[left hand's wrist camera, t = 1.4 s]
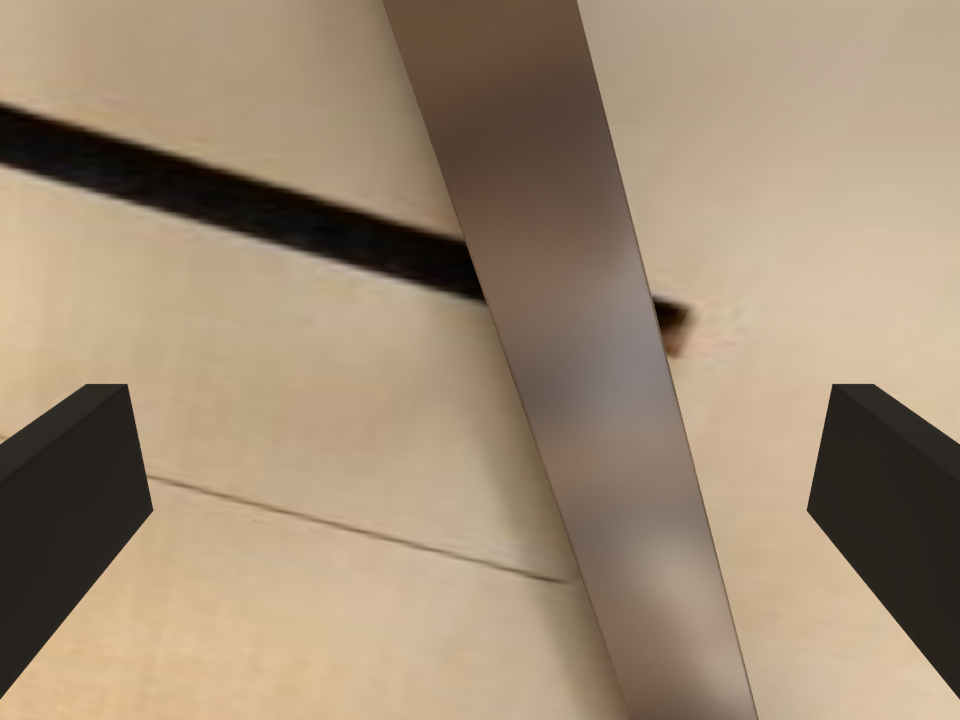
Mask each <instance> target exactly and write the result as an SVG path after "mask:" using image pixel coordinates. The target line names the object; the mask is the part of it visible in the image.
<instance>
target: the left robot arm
mask: <svg viewBox="0 0 960 720" xmlns="http://www.w3.org/2000/svg"><path fill="white" fill-rule="evenodd" d="M152 512H153V507H152V502H151V497H150V492H149V487H148V482H147V477H146V472H145V468H144V463H143V458H142V453H141V448H140V443H139V438H138V433H137V428H136V424H135V419H134V414H133V409H132V404H131V399H130V394H129V389H128V384H86V385H84V386H83V387H81V388H80V389H78V390H77V391H76V392H74V393H73V394H71V395H70V396H69V397H67V398H66V399H64V400H63V401H61V402H60V403H59V404H57V405H56V406H54V407H53V408H51V409H50V410H49V411H47V412H46V413H44V414H43V415H41V416H40V417H39V418H37V419H36V420H34V421H33V422H31V423H30V424H29V425H27V426H26V427H24V428H23V429H22V430H20V431H19V432H17V433H16V434H14V435H13V436H12V437H10V438H9V439H7V440H6V441H4V442H3V443H2V444H0V699H1V698H2V697H3V695H4V694H5V693H6V692H7V690H8V689H9V688H10V687H11V685H12V684H13V683H14V682H15V681H16V679H17V678H18V677H19V676H20V674H21V673H22V672H23V671H24V669H25V668H26V667H27V666H28V665H29V663H30V662H31V661H32V660H33V658H34V657H35V656H36V655H37V653H38V652H39V651H40V650H41V648H42V647H43V646H44V645H45V644H46V642H47V641H48V640H49V639H50V637H51V636H52V635H53V634H54V632H55V631H56V630H57V629H58V628H59V626H60V625H61V624H62V623H63V621H64V620H65V619H66V618H67V616H68V615H69V614H70V613H71V611H72V610H73V609H74V608H75V607H76V605H77V604H78V603H79V602H80V600H81V599H82V598H83V597H84V595H85V594H86V593H87V592H88V591H89V589H90V588H91V587H92V586H93V584H94V583H95V582H96V581H97V579H98V578H99V577H100V576H101V574H102V573H103V572H104V571H105V570H106V568H107V567H108V566H109V565H110V563H111V562H112V561H113V560H114V558H115V557H116V556H117V555H118V553H119V552H120V551H121V550H122V549H123V547H124V546H125V545H126V544H127V542H128V541H129V540H130V539H131V537H132V536H133V535H134V534H135V533H136V531H137V530H138V529H139V528H140V526H141V525H142V524H143V523H144V521H145V520H146V519H147V518H148V516H149V515H150V514H151V513H152ZM807 512H808V513H809V514H810V515H811V516H812V518H813V519H814V520H815V521H816V523H817V524H818V525H819V526H820V528H821V529H822V530H823V531H824V533H825V534H826V535H827V536H828V537H829V539H830V540H831V541H832V542H833V544H834V545H835V546H836V547H837V549H838V550H839V551H840V552H841V553H842V555H843V556H844V557H845V558H846V560H847V561H848V562H849V563H850V565H851V566H852V567H853V568H854V570H855V571H856V572H857V573H858V574H859V576H860V577H861V578H862V579H863V581H864V582H865V583H866V584H867V586H868V587H869V588H870V589H871V591H872V592H873V593H874V594H875V595H876V597H877V598H878V599H879V600H880V602H881V603H882V604H883V605H884V607H885V608H886V609H887V610H888V611H889V613H890V614H891V615H892V616H893V618H894V619H895V620H896V621H897V623H898V624H899V625H900V626H901V628H902V629H903V630H904V631H905V632H906V634H907V635H908V636H909V637H910V639H911V640H912V641H913V642H914V644H915V645H916V646H917V647H918V648H919V650H920V651H921V652H922V653H923V655H924V656H925V657H926V658H927V660H928V661H929V662H930V663H931V665H932V666H933V667H934V668H935V669H936V671H937V672H938V673H939V674H940V676H941V677H942V678H943V679H944V681H945V682H946V683H947V684H948V685H949V687H950V688H951V689H952V690H953V692H954V693H955V694H956V695H957V697H958V698H959V699H960V444H958V443H957V442H956V441H954V440H953V439H951V438H950V437H948V436H947V435H946V434H944V433H943V432H941V431H940V430H938V429H937V428H936V427H934V426H933V425H931V424H930V423H929V422H927V421H926V420H924V419H923V418H921V417H920V416H919V415H917V414H916V413H914V412H913V411H911V410H910V409H909V408H907V407H906V406H904V405H903V404H901V403H900V402H899V401H897V400H896V399H894V398H893V397H891V396H890V395H889V394H887V393H886V392H884V391H883V390H882V389H880V388H879V387H877V386H876V385H874V384H832V389H831V394H830V399H829V404H828V409H827V414H826V419H825V424H824V428H823V433H822V438H821V443H820V448H819V453H818V458H817V463H816V468H815V472H814V477H813V482H812V487H811V492H810V497H809V502H808V507H807Z"/></svg>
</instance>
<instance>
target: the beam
mask: <svg viewBox="0 0 960 720" xmlns="http://www.w3.org/2000/svg"><path fill="white" fill-rule="evenodd" d="M382 1H383V4H384V7H385V10H386V13H387V16H388V18H389V21H390V24H391V27H392V30H393V33H394V36H395V39H396V42H397V44H398V47H399V50H400V53H401V56H402V59H403V62H404V65H405V68H406V71H407V73H408V76H409V79H410V82H411V85H412V88H413V91H414V94H415V97H416V100H417V102H418V105H419V108H420V111H421V114H422V117H423V120H424V123H425V126H426V128H427V131H428V134H429V137H430V140H431V143H432V146H433V149H434V152H435V155H436V157H437V160H438V163H439V166H440V169H441V172H442V175H443V178H444V181H445V183H446V186H447V189H448V192H449V195H450V198H451V201H452V204H453V207H454V210H455V212H456V215H457V218H458V221H459V224H460V227H461V230H462V233H463V236H464V238H465V241H466V244H467V247H468V250H469V253H470V256H471V259H472V262H473V265H474V267H475V270H476V273H477V276H478V279H479V282H480V285H481V288H482V291H483V294H484V296H485V299H486V302H487V305H488V308H489V311H490V314H491V317H492V320H493V322H494V325H495V328H496V331H497V334H498V337H499V340H500V343H501V346H502V349H503V351H504V354H505V357H506V360H507V363H508V366H509V369H510V372H511V375H512V377H513V380H514V383H515V386H516V389H517V392H518V395H519V398H520V401H521V404H522V406H523V409H524V412H525V415H526V418H527V421H528V424H529V427H530V430H531V432H532V435H533V438H534V441H535V444H536V447H537V450H538V453H539V456H540V459H541V461H542V464H543V467H544V470H545V473H546V476H547V479H548V482H549V485H550V487H551V490H552V493H553V496H554V499H555V502H556V505H557V508H558V511H559V514H560V516H561V519H562V522H563V525H564V528H565V531H566V534H567V537H568V540H569V543H570V545H571V548H572V551H573V554H574V557H575V560H576V563H577V566H578V569H579V571H580V574H581V577H582V580H583V583H584V586H585V589H586V592H587V595H588V598H589V600H590V603H591V606H592V609H593V612H594V615H595V618H596V621H597V624H598V626H599V629H600V632H601V635H602V638H603V641H604V644H605V647H606V650H607V653H608V655H609V658H610V661H611V664H612V667H613V670H614V673H615V676H616V679H617V681H618V684H619V687H620V690H621V693H622V696H623V699H624V702H625V705H626V708H627V710H628V713H629V716H630V719H631V720H759V719H758V715H757V711H756V707H755V704H754V700H753V696H752V692H751V688H750V684H749V680H748V676H747V672H746V668H745V664H744V660H743V656H742V652H741V648H740V644H739V640H738V636H737V632H736V628H735V624H734V621H733V617H732V613H731V609H730V605H729V601H728V597H727V593H726V589H725V585H724V581H723V577H722V573H721V569H720V565H719V561H718V557H717V553H716V549H715V545H714V541H713V537H712V534H711V530H710V526H709V522H708V518H707V514H706V510H705V506H704V502H703V498H702V494H701V490H700V486H699V482H698V478H697V474H696V470H695V466H694V462H693V458H692V454H691V450H690V447H689V443H688V439H687V435H686V431H685V427H684V423H683V419H682V415H681V411H680V407H679V403H678V399H677V395H676V391H675V387H674V383H673V379H672V375H671V371H670V367H669V363H668V360H667V356H666V352H665V348H664V344H663V340H662V336H661V332H660V328H659V324H658V320H657V316H656V312H655V308H654V304H653V300H652V296H651V292H650V288H649V284H648V280H647V276H646V273H645V269H644V265H643V261H642V257H641V253H640V249H639V245H638V241H637V237H636V233H635V229H634V225H633V221H632V217H631V213H630V209H629V205H628V201H627V197H626V193H625V190H624V186H623V182H622V178H621V174H620V170H619V166H618V162H617V158H616V154H615V150H614V146H613V142H612V138H611V134H610V130H609V126H608V122H607V118H606V114H605V110H604V106H603V103H602V99H601V95H600V91H599V87H598V83H597V79H596V75H595V71H594V67H593V63H592V59H591V55H590V51H589V47H588V43H587V39H586V35H585V31H584V27H583V23H582V19H581V16H580V12H579V8H578V4H577V0H382Z"/></svg>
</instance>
